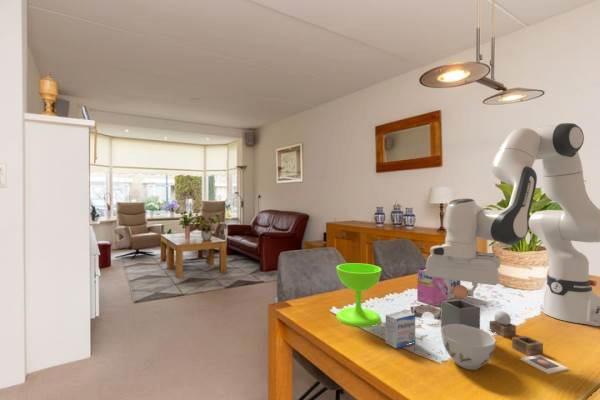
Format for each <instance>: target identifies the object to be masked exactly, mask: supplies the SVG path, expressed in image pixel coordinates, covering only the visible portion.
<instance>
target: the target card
mask: <svg viewBox="0 0 600 400" xmlns="http://www.w3.org/2000/svg"><path fill="white" fill-rule="evenodd" d="M520 361H522V362H524V363H526V364H527V365H530V366H532V367H534V368H535V369H536V370H537V369H538V370H539V371H541V372H544V373H545V374H547V375H550V374H555V373H559V372H563V371H564V372H565V371H569V368H568V367H567V366H565V365H562V364H560V363H558V362H557V361H554V360H552V359H549V358H548V357H546V356H544V355H543V354H541V355H534V356H525V357H521V358H520Z"/></svg>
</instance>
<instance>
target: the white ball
mask: <svg viewBox="0 0 600 400" xmlns="http://www.w3.org/2000/svg"><path fill="white" fill-rule="evenodd" d="M494 321H496V322H497V323H498V324H500V325H502V326H506V325H509V324H510V323H511V321H512V319H511V316H510V315H509V313H508V312H505V311H502V310H501V311H497V312H496V313H495V314H494Z"/></svg>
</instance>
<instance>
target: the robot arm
mask: <svg viewBox="0 0 600 400" xmlns="http://www.w3.org/2000/svg"><path fill="white" fill-rule="evenodd" d="M584 141H585V136H584V132H583V129H582V128H581V127H580V126H578V125H577V124H575V123H570V122H565V123H559V124H553V125H546V126H540V127H538V128H533V129H532V128H527V127H519V128H516V129H514V130H512V131H511V132H510V133H509V134H508V135H507V136H506V138H505V139H504V140H503V142H502V143H501V145H500V146H499V148H498V150H497V152H496V154H495V155H494V157H493V159H492V162H491V167H490V168H491V172H492V173H493V176H494V177H496V178H497V179H498V180H499V181H500V182H503V184H504V183H505V184H506V185H510V186H512V187H513V188H512V191H511V196H510V200H509V204H508V206H507V207H505V208H503V209H487V208H486V209H485V208H484V207H481V206H480V205H478V204H477V203H476V202H475V200H474V199H473V198H458V199H453V200H450V201H449V202H448V204H447V206H446V211H445V222H444V223H445V231H446V235H445V239H444V243H441V244H437V245H433V246H431V247H430V249H429V254H430V255H429V256H427V259H426V263H425V267H426V274H427V275H428V276H430V277H437V278H444V283H445V284H446V286H447V287H448V293H453V288H454V287H451V286H450V284H449V281H450V279H452V280H459V281H460V282H461V281H462V282H466V283H468V282H469V283H471V286H472V288H471V289H469V288H467V290H468V297H472V298H474V292H475V290H476V289H477V288H478V286H479V284H483V285H489V286H497V285H498V284H499V283H500V281H499V270H498V269H499V268H500V266H501V259H500V257H499V256H498V255H496V254H495V253H493V252H489V253H487V252H482V251H478V239H481V240H485V241H492V242H497V243H501V244H505V245H509V246H512V245H516V244H518V243H520V242H521V241H523V240H524V239H525V237H526V236H527V235H528V232H529V230H530V232H531V233H532V234H534V236H536V237H537V238H538V240H540V241H541V243H542V244H543V246H544V248H545V250H546V253H547V260H548V274H547V276H546V285H547V286H545V288H544V293H543V300H542V304H540V306H539V308H540V309H541V310H542V312H543V313H544V314H545V315H547V316H549V317H551V318H554V319H558V320H561V321H565V322H570V323H576V324H583V325H588V326H589V325H590V326H594V327H600V296H599V295H597V294H596V293H595V292H594V291H593V287H597V283H598V282H597V280H591V279H589V274H590V273H589V271H590V270H589V267H590V265H589V263H590V261H589V259H588V257H587V256H586V255H585V254H584V253H582V252H580V251H578V250H577V249H576V248H575V247H574V246H573V244H572V241H573V242H580V243H581V242H582V243H589V244H590V243H600V208H599V207H598V206H596V204H594V203H593V201H592V199H591V198H590V197H589V194H588V193H587V189H586V184H585V178H584V171H583V165H582V161H581V157H580V154H579V151H580V149H581V148H582V146H583V144H584ZM536 160H542V161H541V171H542V180H543V181H542V182H543V188H544V194H545V196H546V198H548V199H549V200H551V201H552V202H555V203H557V204H558V205H559V206H560V207H561V210H560V209H546V210H545V209H544V210H540V211H535V212H533V213H532V214H531V215H530V212H531V209H532V206H533V205H532V204H533V201H534V196H535V193H536V187H537V182H538V179H537V178H538V175H537V172H536V170H535V169H533V165H534V163H535V161H536Z"/></svg>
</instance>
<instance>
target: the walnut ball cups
mask: <svg viewBox="0 0 600 400" xmlns="http://www.w3.org/2000/svg"><path fill="white" fill-rule="evenodd" d="M490 329H491V330H492V331H494V332H496V333H497V334H496V333H495V334H496V335H498V336H501V337H502V338H508V337H512V339H511V340H512V341H511V342H512V344H511V345H512V346H511V349H514V350H516V351H517V352H520V354H521V353H522V354H523V355H525V356H526V357H529V356H534V355H543V354H544V342H541V341H539V340H538V339H537V340H536V339H534V338H531V337H530V336H527V335H521V336H517V325H515V324H513V323H511V322H510V324H509V325H506V326H502V325H500V324H498V323H497V322H496V321H495V320H490V321H489V330H490ZM492 331H491V332H492ZM494 332H493V333H494ZM513 336H515V337H513Z"/></svg>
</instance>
